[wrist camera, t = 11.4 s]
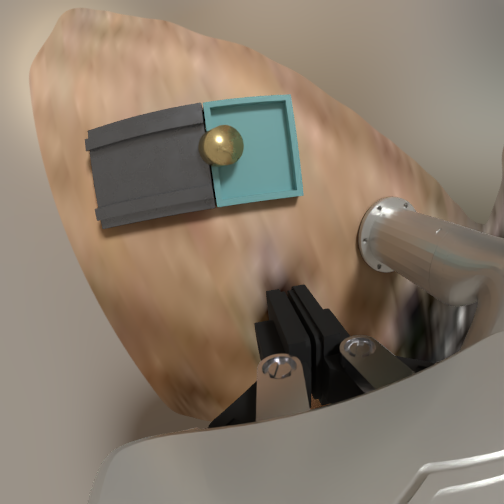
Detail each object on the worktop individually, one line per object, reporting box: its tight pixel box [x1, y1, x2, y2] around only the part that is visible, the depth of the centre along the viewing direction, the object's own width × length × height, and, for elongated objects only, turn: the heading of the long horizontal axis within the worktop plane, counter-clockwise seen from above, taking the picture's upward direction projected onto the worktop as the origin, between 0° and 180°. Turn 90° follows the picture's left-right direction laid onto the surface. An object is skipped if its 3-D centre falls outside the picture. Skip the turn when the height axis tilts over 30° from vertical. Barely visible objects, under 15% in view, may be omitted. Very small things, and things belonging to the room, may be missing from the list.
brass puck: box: [198, 125, 244, 167], centre depth 32 cm, size 5×5×2 cm
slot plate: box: [85, 103, 216, 229], centre depth 32 cm, size 16×14×3 cm
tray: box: [203, 95, 304, 207], centre depth 34 cm, size 12×14×2 cm
